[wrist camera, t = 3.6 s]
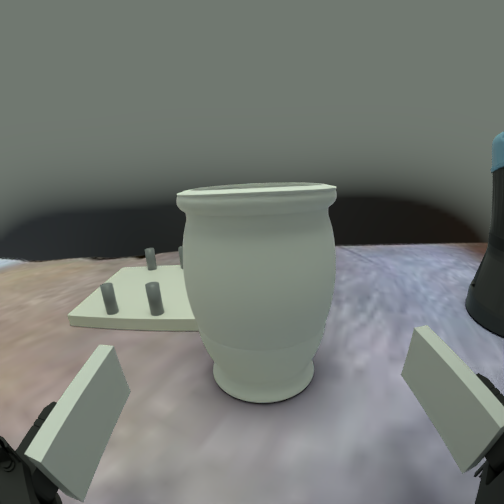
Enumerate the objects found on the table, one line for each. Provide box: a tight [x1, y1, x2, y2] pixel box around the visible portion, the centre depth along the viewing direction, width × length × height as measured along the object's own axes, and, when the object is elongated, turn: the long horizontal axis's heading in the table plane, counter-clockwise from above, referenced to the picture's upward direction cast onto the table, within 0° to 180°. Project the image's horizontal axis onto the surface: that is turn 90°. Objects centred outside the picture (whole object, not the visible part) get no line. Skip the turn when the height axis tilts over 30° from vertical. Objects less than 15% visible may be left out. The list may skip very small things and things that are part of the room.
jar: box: [176, 183, 337, 403], centre depth 20 cm, size 11×10×15 cm
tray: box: [67, 246, 199, 331], centre depth 37 cm, size 19×19×5 cm
